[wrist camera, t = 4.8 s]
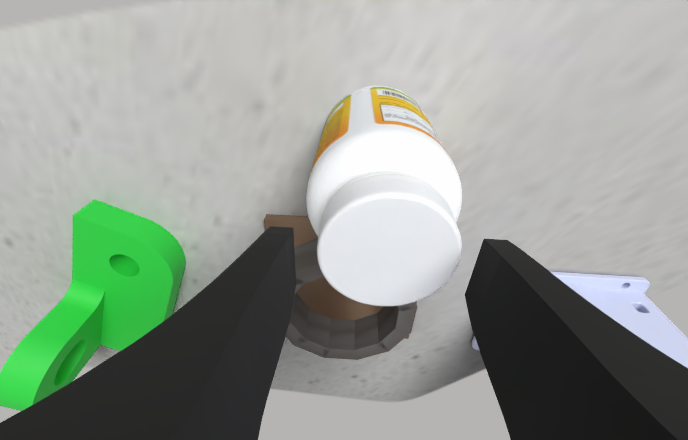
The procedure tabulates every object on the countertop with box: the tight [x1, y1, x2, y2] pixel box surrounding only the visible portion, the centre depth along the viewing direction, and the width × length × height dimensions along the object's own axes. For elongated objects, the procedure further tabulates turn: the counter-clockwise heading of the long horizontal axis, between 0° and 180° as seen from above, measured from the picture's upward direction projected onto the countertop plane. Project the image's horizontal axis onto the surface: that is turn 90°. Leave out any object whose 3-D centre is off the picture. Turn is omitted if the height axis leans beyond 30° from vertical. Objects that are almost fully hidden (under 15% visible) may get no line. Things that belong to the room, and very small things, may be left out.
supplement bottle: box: [306, 86, 462, 306], centre depth 13 cm, size 5×5×10 cm
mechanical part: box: [0, 200, 186, 411], centre depth 20 cm, size 12×6×8 cm, turn 155°
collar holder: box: [264, 214, 417, 360], centre depth 21 cm, size 10×10×3 cm
